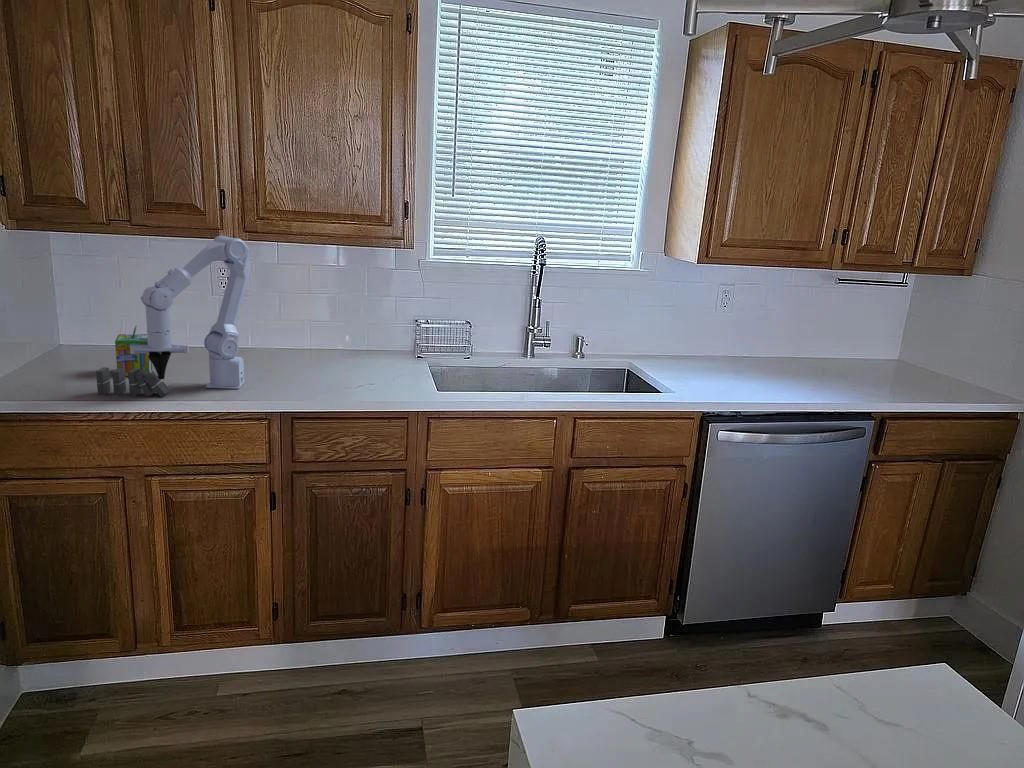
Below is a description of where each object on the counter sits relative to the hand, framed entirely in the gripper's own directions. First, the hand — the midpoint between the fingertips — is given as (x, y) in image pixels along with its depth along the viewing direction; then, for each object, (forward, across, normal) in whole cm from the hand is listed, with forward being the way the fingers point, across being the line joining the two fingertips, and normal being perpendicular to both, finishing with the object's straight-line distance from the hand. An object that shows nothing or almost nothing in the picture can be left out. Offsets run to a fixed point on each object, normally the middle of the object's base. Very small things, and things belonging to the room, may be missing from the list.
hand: (161, 378), depth 203 cm
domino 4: (+5, +3, -1) cm, 5 cm away
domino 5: (+4, -1, 0) cm, 5 cm away
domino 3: (+5, +7, -2) cm, 9 cm away
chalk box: (+5, +10, -26) cm, 28 cm away
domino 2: (+5, +11, -2) cm, 12 cm away
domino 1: (+5, +15, -3) cm, 16 cm away
